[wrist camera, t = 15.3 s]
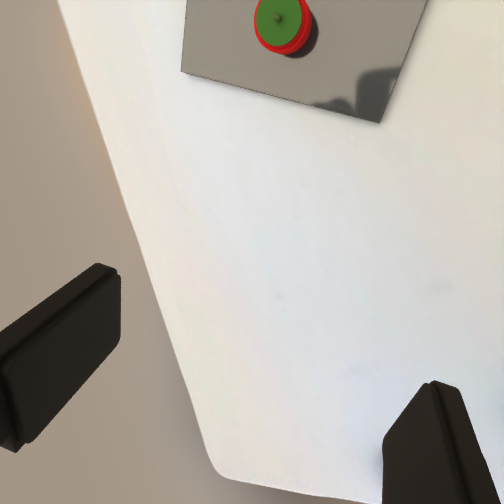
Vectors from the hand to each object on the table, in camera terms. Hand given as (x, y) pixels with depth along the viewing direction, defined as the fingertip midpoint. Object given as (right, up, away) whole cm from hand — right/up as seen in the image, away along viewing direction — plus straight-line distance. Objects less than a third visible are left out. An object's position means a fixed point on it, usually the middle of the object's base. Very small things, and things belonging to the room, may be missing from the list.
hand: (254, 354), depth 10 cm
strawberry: (+3, +23, +19) cm, 30 cm away
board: (+4, +23, +20) cm, 31 cm away
